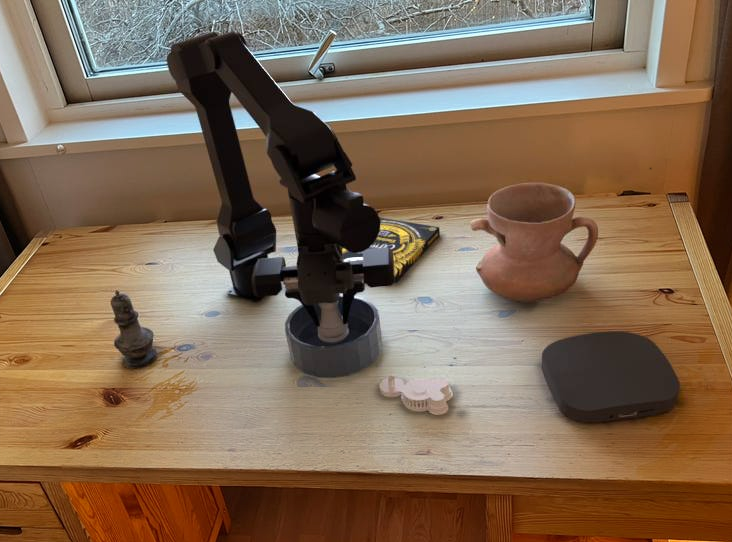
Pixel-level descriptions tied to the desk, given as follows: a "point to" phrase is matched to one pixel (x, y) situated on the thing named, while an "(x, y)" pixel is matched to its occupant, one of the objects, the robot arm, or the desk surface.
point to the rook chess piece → (331, 324)
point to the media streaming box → (609, 376)
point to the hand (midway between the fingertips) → (331, 323)
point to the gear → (419, 393)
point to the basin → (340, 356)
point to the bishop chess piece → (132, 334)
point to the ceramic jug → (532, 242)
